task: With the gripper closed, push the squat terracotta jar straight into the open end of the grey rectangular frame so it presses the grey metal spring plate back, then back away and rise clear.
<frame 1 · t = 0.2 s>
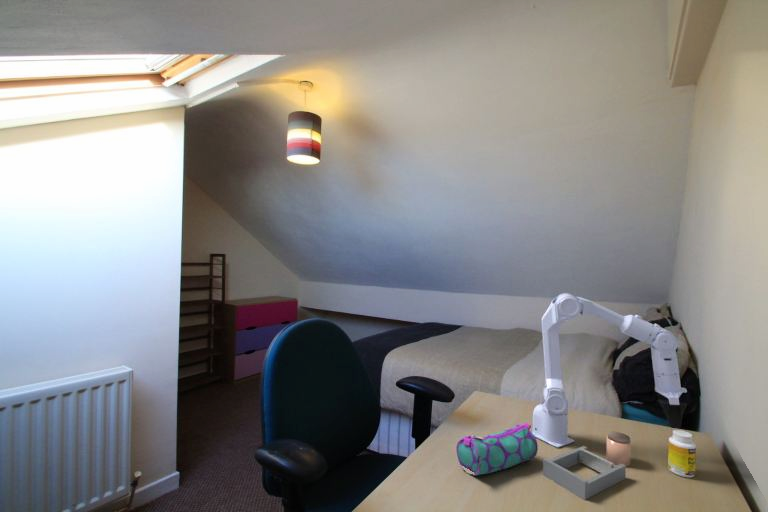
hand: (672, 421, 105), 10 cm above the table, tool pointing down, fingers open, 7 cm apart
jar: (618, 460, 103), on the table
pencil case: (497, 467, 100), on the table
supplement bottle: (681, 473, 98), on the table
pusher: (595, 462, 98), point 2 cm above the table, slide at 0.0 cm
grey rectangular frame: (585, 476, 96), on the table
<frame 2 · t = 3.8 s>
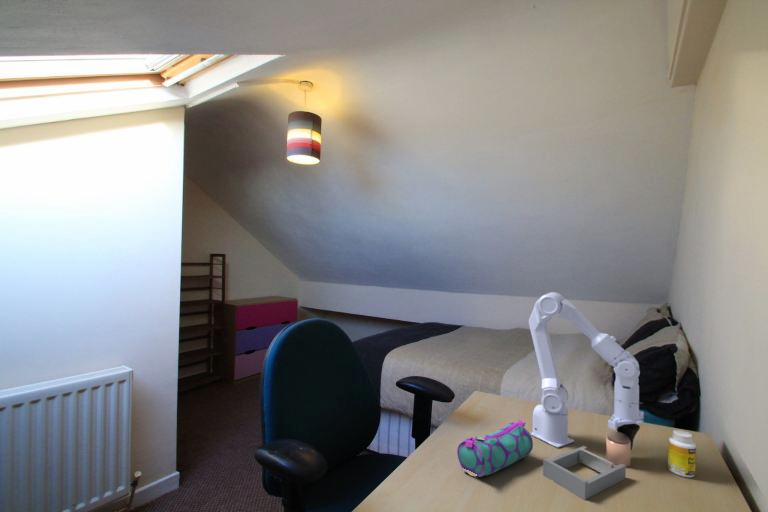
hand: (626, 449, 105), 2 cm above the table, tool pointing down, fingers closed, pressing on jar
jar: (618, 460, 103), on the table, touching gripper
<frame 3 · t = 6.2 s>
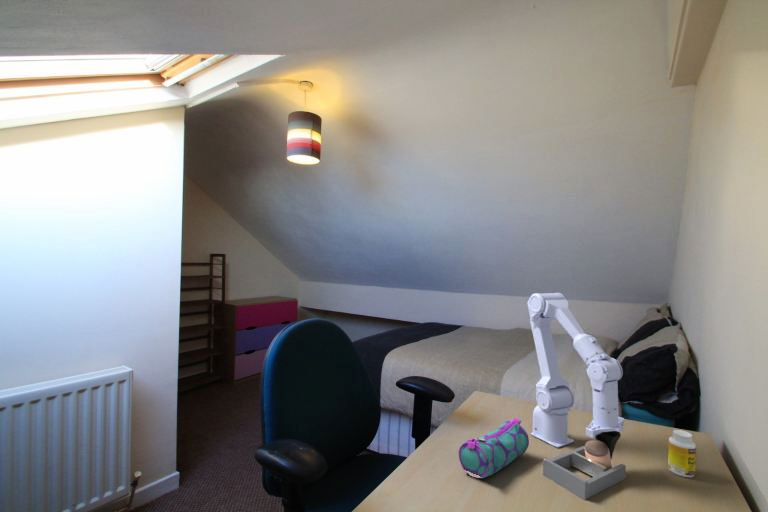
hand: (606, 458, 99), 3 cm above the table, tool pointing down, fingers closed, pressing on jar
jar: (600, 470, 98), on the table, tilted 16°, touching gripper, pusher
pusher: (587, 466, 96), point 2 cm above the table, slide at 3.4 cm, touching jar
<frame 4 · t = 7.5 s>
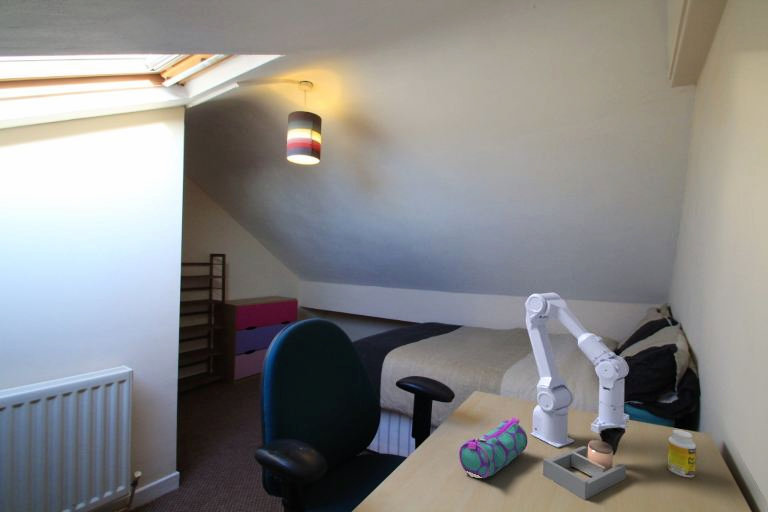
hand: (609, 453, 101), 3 cm above the table, tool pointing down, fingers closed
jar: (599, 471, 98), on the table
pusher: (587, 466, 96), point 2 cm above the table, slide at 3.6 cm
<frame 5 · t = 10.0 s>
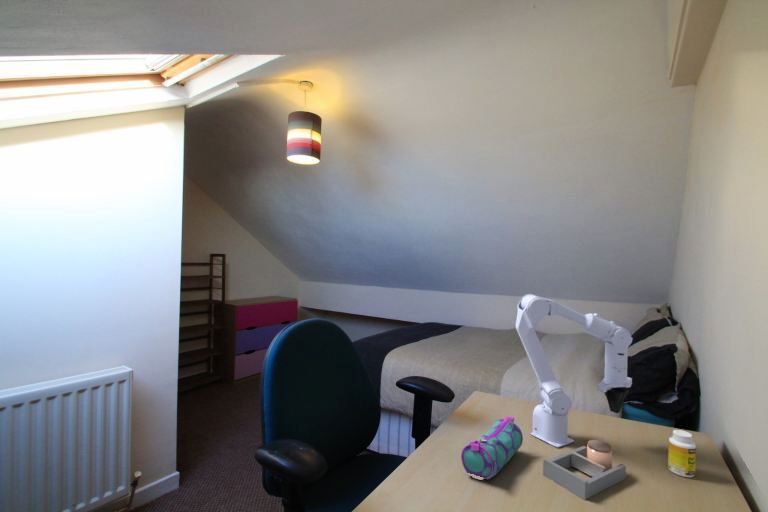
hand: (614, 411, 113), 9 cm above the table, tool pointing down, fingers closed
at the end: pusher slide at 3.6 cm; jar 2.5 cm from the target spot, on the table; jar tilted 1° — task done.
